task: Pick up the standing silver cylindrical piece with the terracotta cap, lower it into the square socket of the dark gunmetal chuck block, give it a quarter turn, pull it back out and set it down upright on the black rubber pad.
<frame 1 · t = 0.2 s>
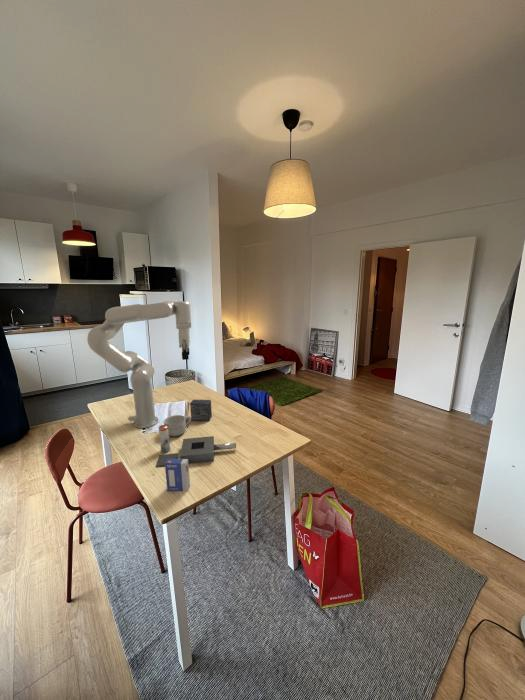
hand: (186, 357, 153), 36 cm above the table, tool pointing down, fingers open, 9 cm apart
teacup: (178, 432, 148), on the table
small box: (201, 418, 163), on the table
chuck block: (198, 453, 130), on the table
walkman: (178, 489, 107), on the table
rubber pad: (167, 460, 125), on the table
silver cylindrical piece: (165, 450, 132), on the table
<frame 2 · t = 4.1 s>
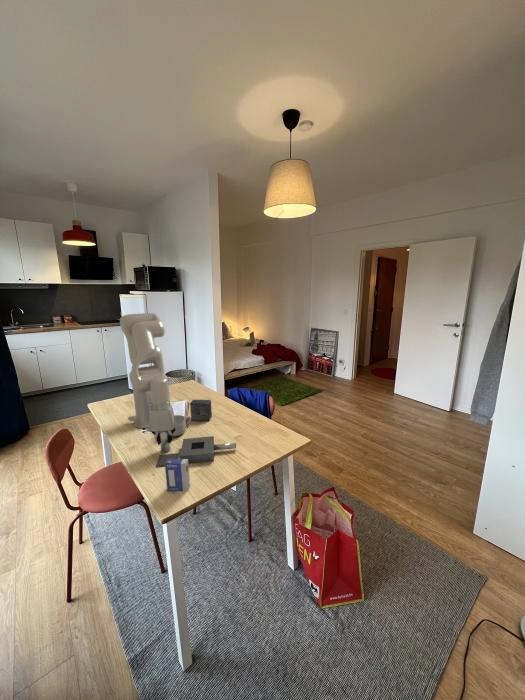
hand: (164, 442, 131), 4 cm above the table, tool pointing down, fingers closed on silver cylindrical piece, 4 cm apart
silver cylindrical piece: (165, 450, 132), on the table, touching gripper
everything else where it was.
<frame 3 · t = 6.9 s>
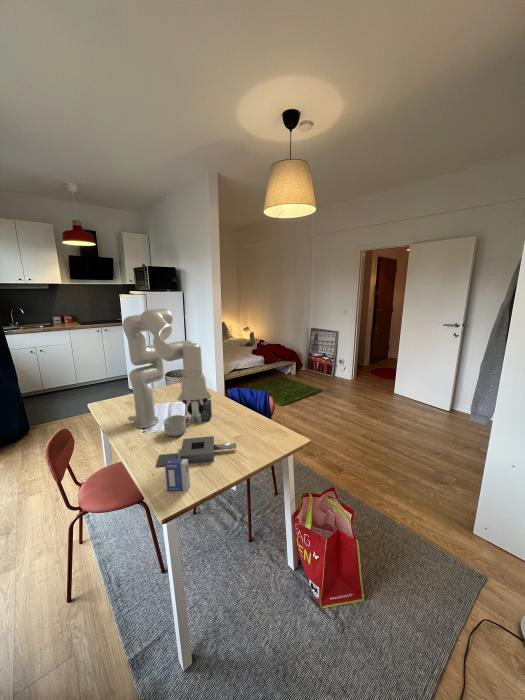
hand: (195, 412, 125), 20 cm above the table, tool pointing down, fingers closed on silver cylindrical piece, 4 cm apart
silver cylindrical piece: (196, 421, 126), point 16 cm above the table, touching gripper
everything else where it was.
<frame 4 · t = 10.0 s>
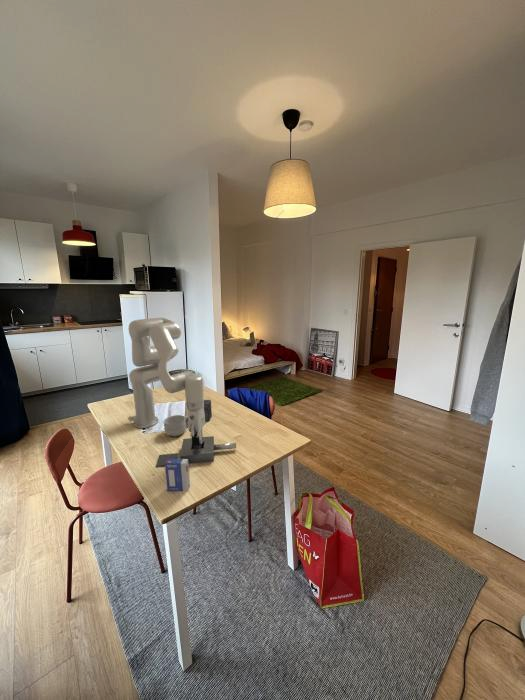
hand: (197, 441, 128), 6 cm above the table, tool pointing down, fingers closed on silver cylindrical piece, 4 cm apart
silver cylindrical piece: (198, 450, 129), point 2 cm above the table, touching gripper
everything else where it was.
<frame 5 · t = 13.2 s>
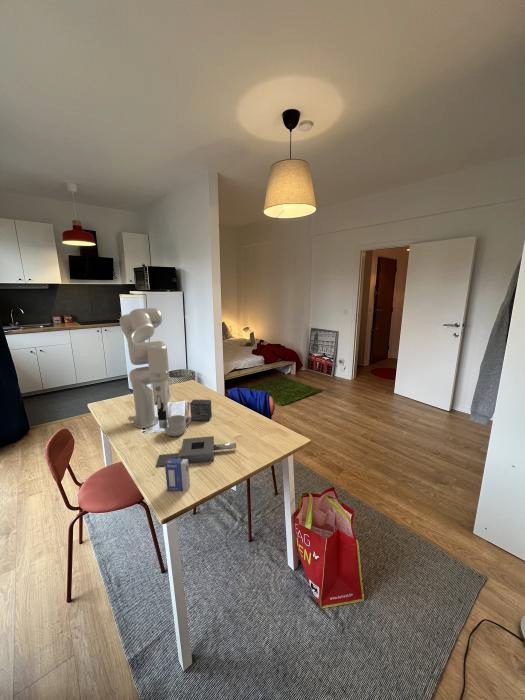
hand: (163, 416, 120), 21 cm above the table, tool pointing down, fingers closed on silver cylindrical piece, 4 cm apart
silver cylindrical piece: (164, 426, 121), point 16 cm above the table, touching gripper
everything else where it was.
when the fingers open (6 cm above the table, at t = 16.1 s): silver cylindrical piece stays where it is, resting on rubber pad.
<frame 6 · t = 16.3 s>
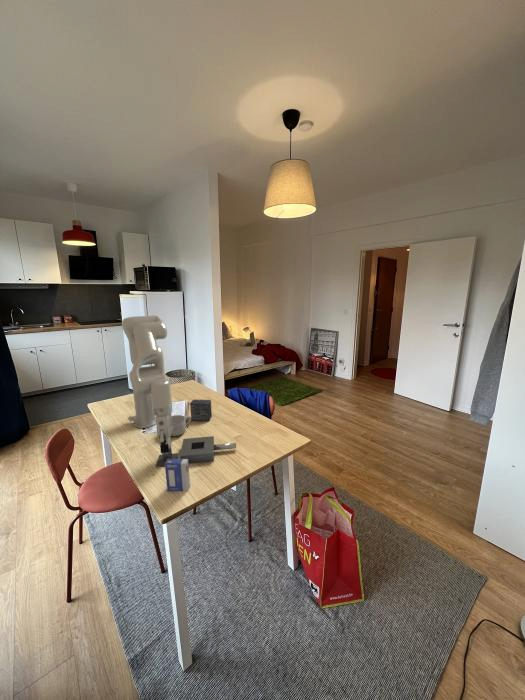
hand: (166, 447, 123), 6 cm above the table, tool pointing down, fingers open, 6 cm apart
silver cylindrical piece: (167, 458, 125), point 1 cm above the table, touching rubber pad
everything else where it was.
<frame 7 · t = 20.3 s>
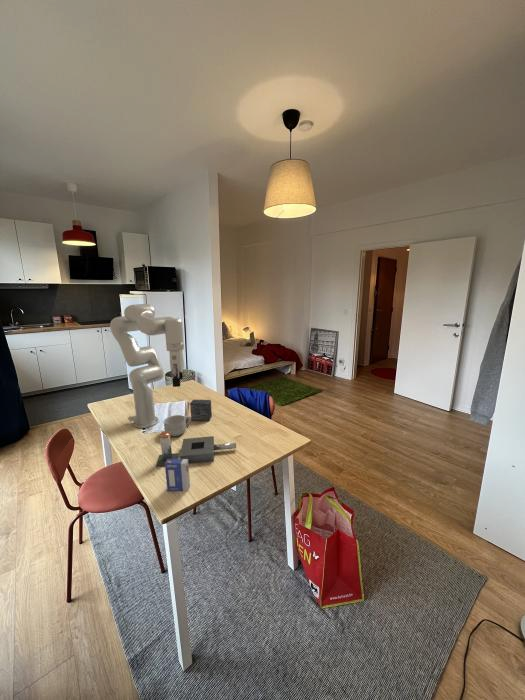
hand: (178, 382, 132), 30 cm above the table, tool pointing down, fingers open, 9 cm apart
nothing on the table moved.
at the end: silver cylindrical piece inside the target area on the rubber pad (0.1 cm from its centre), point 0.6 cm above the rubber pad's base; silver cylindrical piece tilted 1°; the gripper is holding nothing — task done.
